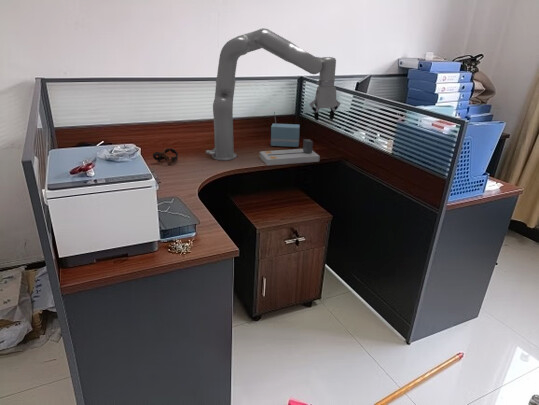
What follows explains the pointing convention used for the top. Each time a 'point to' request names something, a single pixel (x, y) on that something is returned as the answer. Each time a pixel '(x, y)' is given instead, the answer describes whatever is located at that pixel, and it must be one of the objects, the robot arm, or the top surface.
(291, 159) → the panel
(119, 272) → the top surface
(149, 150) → the top surface
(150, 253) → the top surface
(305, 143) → the fader knob
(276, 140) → the radio
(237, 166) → the top surface
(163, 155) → the dark linked rings
